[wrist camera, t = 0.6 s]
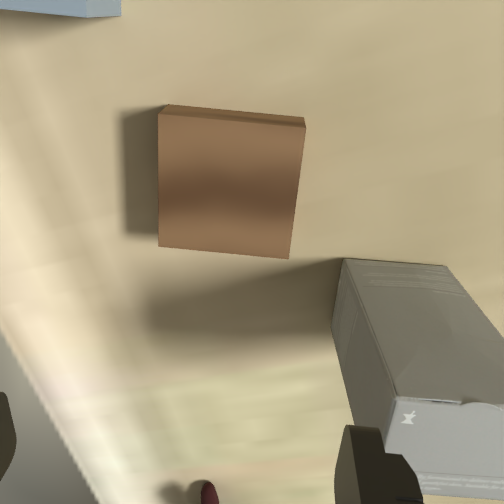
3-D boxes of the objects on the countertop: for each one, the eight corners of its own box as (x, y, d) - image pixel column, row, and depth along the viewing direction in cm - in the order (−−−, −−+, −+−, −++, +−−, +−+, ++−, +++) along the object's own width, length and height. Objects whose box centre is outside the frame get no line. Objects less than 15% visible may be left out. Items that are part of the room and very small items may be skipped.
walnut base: (169, 103, 32) (157, 113, 29) (303, 116, 32) (306, 128, 29) (168, 226, 36) (158, 246, 33) (287, 237, 36) (288, 259, 33)
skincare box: (329, 323, 39) (357, 502, 25) (344, 245, 36) (386, 399, 22) (432, 334, 39) (519, 518, 25) (457, 256, 36) (573, 418, 22)
